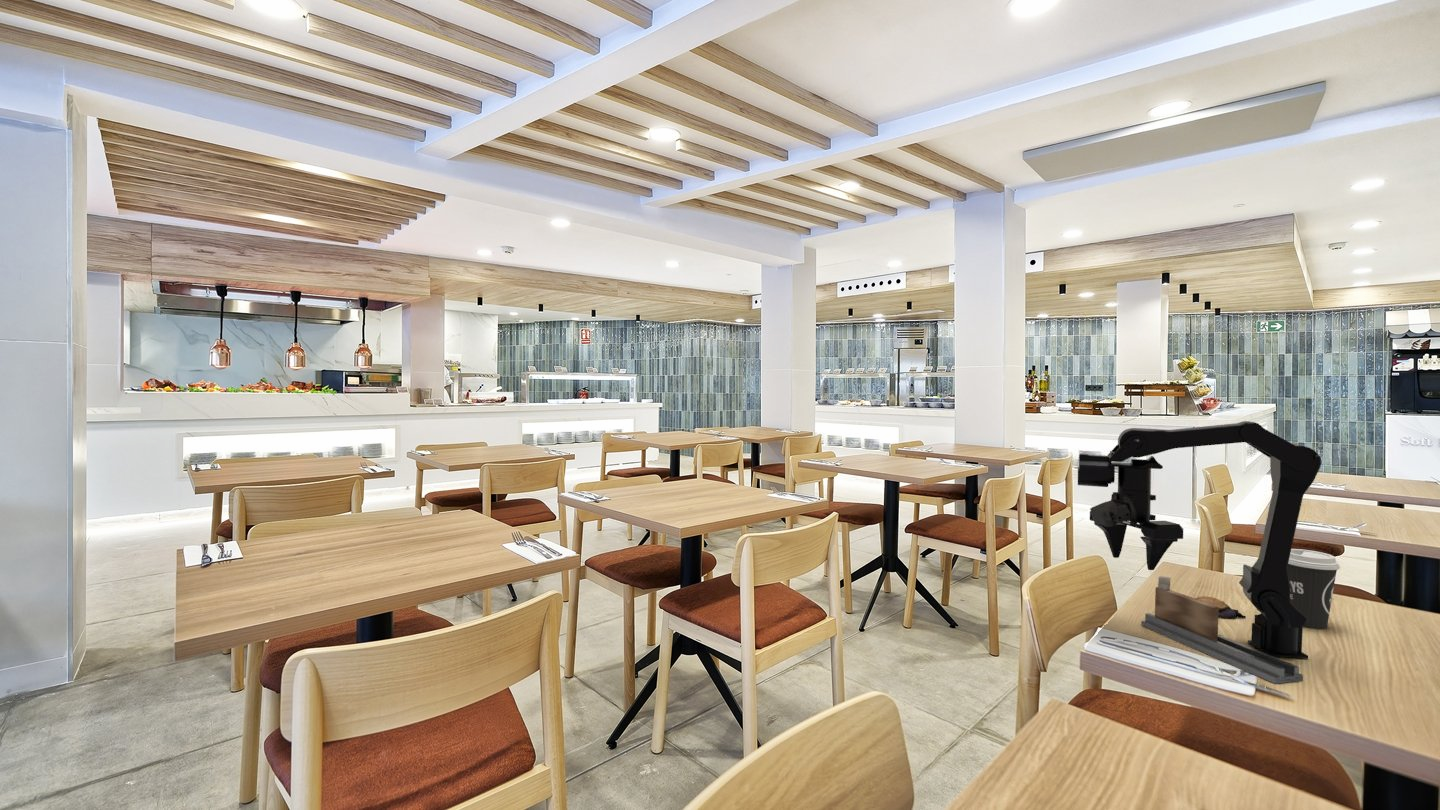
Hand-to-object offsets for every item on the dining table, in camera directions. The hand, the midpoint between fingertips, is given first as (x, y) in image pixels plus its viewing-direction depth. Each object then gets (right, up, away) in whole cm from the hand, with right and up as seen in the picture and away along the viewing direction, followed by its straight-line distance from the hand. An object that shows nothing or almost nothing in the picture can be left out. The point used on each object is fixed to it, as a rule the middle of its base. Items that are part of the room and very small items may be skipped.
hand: (1132, 563), depth 130 cm
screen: (+7, -12, -5) cm, 15 cm away
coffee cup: (+39, -14, +4) cm, 42 cm away
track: (+8, -14, -11) cm, 19 cm away
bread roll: (+24, -14, +10) cm, 30 cm away
